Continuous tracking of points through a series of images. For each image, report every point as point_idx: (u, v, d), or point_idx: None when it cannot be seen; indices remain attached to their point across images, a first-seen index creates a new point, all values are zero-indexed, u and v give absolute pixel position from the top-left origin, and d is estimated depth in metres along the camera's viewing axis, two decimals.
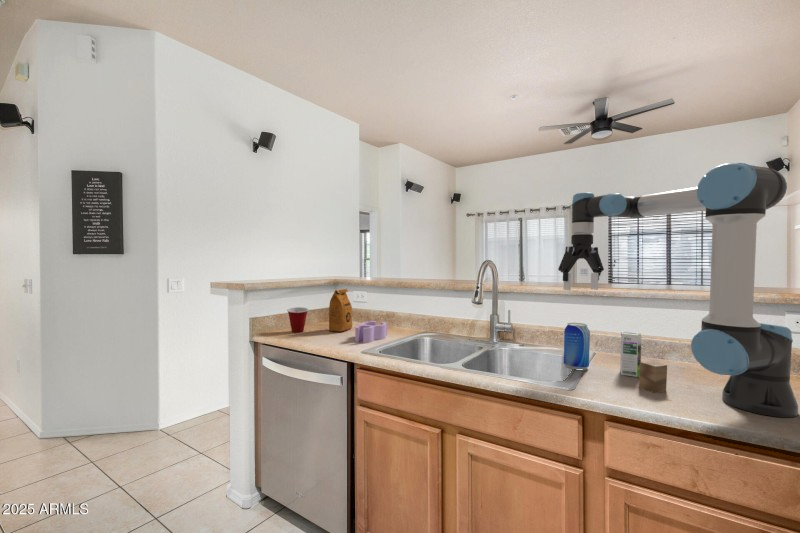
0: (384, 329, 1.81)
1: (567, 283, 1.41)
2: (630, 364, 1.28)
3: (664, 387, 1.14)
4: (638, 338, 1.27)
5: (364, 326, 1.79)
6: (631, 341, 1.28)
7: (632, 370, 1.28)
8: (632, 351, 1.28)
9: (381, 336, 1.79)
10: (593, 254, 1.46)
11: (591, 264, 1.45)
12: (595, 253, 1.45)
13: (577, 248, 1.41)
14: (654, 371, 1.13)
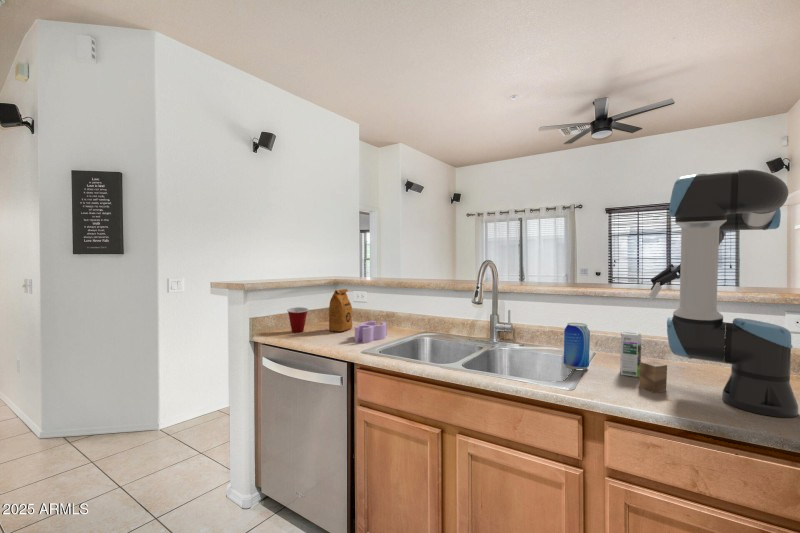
0: (384, 329, 1.81)
1: None
2: (630, 364, 1.28)
3: (664, 387, 1.14)
4: (638, 338, 1.27)
5: (364, 326, 1.78)
6: (631, 341, 1.28)
7: (632, 370, 1.28)
8: (632, 351, 1.28)
9: (381, 336, 1.79)
10: None
11: None
12: None
13: (679, 266, 1.41)
14: (654, 371, 1.13)
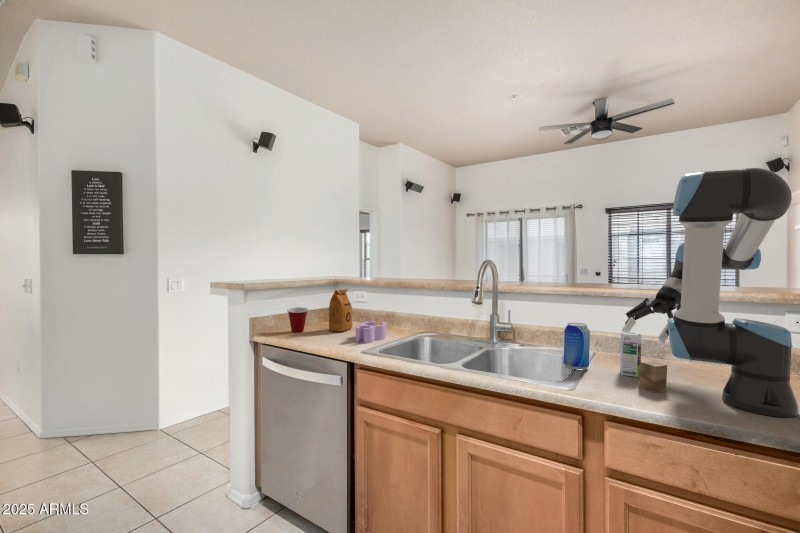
0: (384, 329, 1.81)
1: None
2: (630, 364, 1.28)
3: (664, 387, 1.14)
4: (638, 338, 1.27)
5: (364, 326, 1.78)
6: (631, 341, 1.28)
7: (632, 370, 1.28)
8: (632, 351, 1.28)
9: (381, 336, 1.79)
10: None
11: (669, 317, 1.31)
12: None
13: (653, 300, 1.40)
14: (654, 371, 1.13)
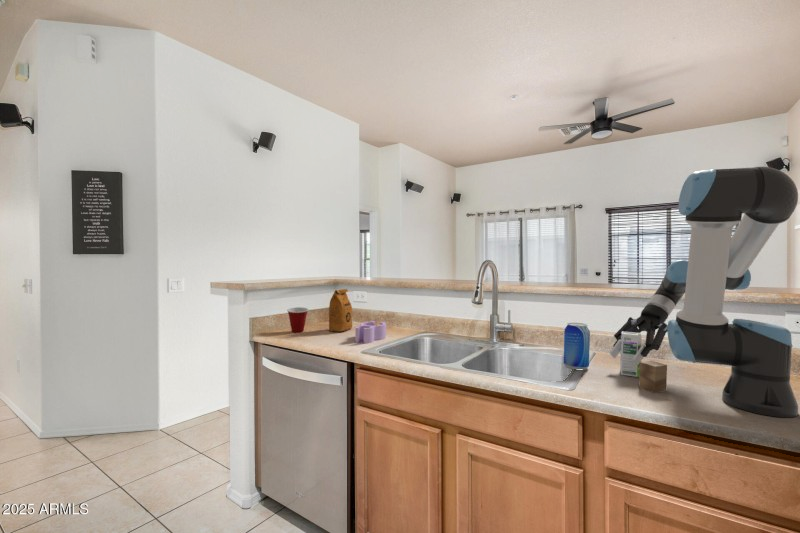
0: (384, 329, 1.81)
1: None
2: (630, 364, 1.28)
3: (664, 387, 1.14)
4: (638, 338, 1.27)
5: (364, 326, 1.78)
6: (631, 341, 1.28)
7: (632, 370, 1.28)
8: (632, 351, 1.28)
9: (381, 336, 1.79)
10: None
11: None
12: None
13: (638, 318, 1.36)
14: (654, 371, 1.13)
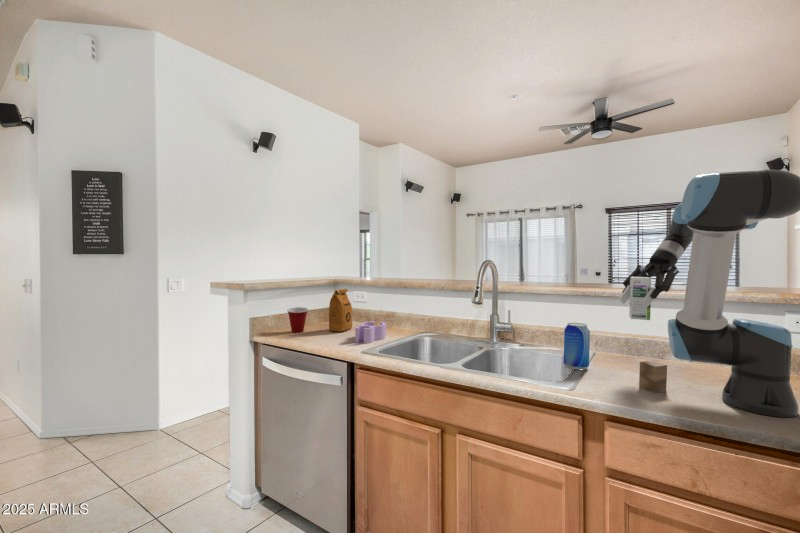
0: (384, 329, 1.80)
1: None
2: (640, 308, 1.27)
3: (664, 387, 1.14)
4: (648, 280, 1.26)
5: (364, 326, 1.77)
6: (640, 284, 1.27)
7: (642, 314, 1.27)
8: (641, 294, 1.27)
9: (381, 336, 1.79)
10: None
11: None
12: None
13: (647, 265, 1.36)
14: (654, 371, 1.13)
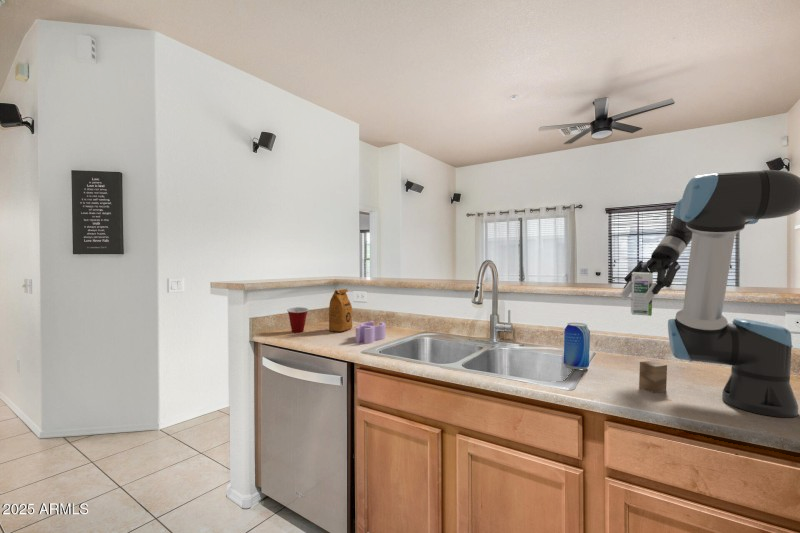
0: (384, 329, 1.80)
1: None
2: (641, 303, 1.27)
3: (664, 387, 1.14)
4: (649, 276, 1.26)
5: (364, 327, 1.77)
6: (642, 279, 1.27)
7: (643, 309, 1.27)
8: (643, 289, 1.27)
9: (381, 336, 1.79)
10: None
11: None
12: None
13: (649, 260, 1.35)
14: (654, 371, 1.13)
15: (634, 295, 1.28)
